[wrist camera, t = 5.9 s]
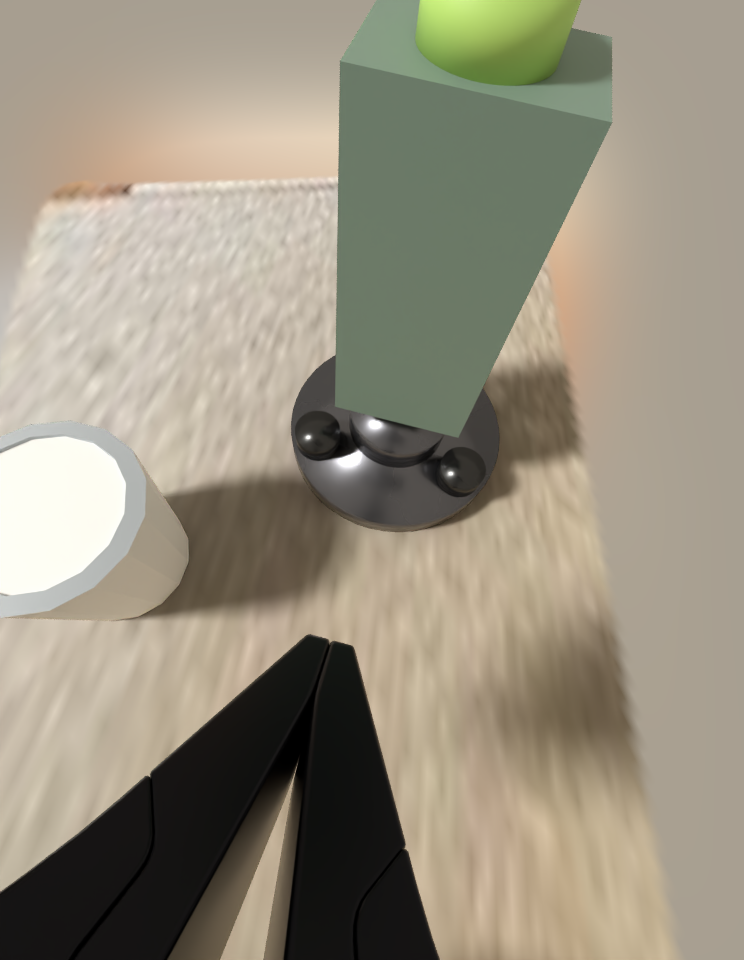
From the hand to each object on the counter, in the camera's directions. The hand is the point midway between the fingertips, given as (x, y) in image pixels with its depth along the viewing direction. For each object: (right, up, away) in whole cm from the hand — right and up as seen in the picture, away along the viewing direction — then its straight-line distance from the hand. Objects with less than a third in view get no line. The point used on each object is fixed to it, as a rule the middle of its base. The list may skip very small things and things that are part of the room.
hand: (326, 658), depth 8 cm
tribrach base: (+2, +6, +17) cm, 18 cm away
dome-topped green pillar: (+3, +8, +14) cm, 17 cm away
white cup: (-11, -1, +13) cm, 17 cm away
